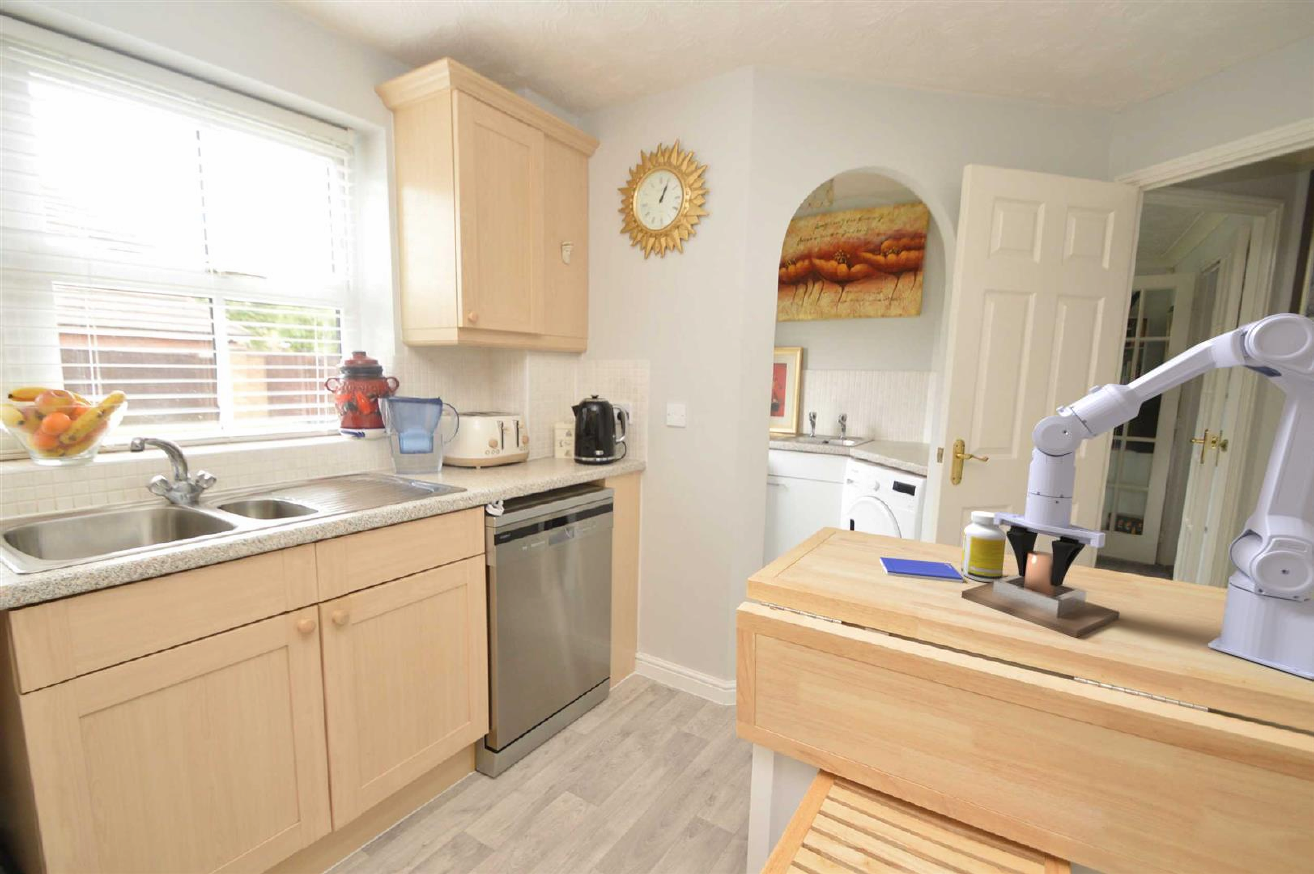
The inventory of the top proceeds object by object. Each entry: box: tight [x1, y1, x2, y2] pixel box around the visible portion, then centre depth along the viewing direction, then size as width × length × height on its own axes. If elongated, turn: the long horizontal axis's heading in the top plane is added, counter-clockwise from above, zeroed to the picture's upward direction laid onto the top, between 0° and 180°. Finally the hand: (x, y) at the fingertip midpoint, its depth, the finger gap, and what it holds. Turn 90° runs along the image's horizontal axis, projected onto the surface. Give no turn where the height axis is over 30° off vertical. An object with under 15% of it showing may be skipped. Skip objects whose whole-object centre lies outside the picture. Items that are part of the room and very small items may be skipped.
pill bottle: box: [960, 510, 1007, 583], centre depth 99 cm, size 6×6×12 cm
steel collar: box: [993, 573, 1087, 618], centre depth 87 cm, size 9×9×2 cm
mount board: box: [961, 582, 1120, 639], centre depth 87 cm, size 16×14×1 cm
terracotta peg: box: [1024, 550, 1056, 597], centre depth 86 cm, size 4×4×6 cm
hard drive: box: [879, 556, 964, 584], centre depth 102 cm, size 2×8×12 cm
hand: (1040, 580), depth 86 cm, fingers closed on terracotta peg, 4 cm apart
